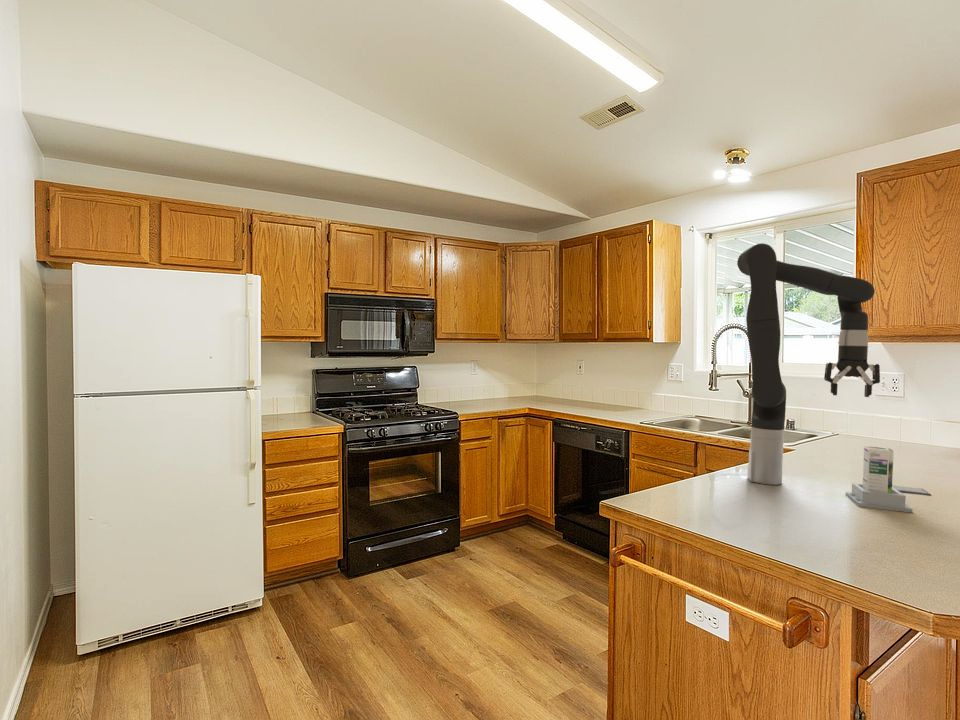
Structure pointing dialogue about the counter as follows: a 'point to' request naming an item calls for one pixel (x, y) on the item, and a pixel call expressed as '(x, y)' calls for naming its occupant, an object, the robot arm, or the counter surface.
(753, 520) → the counter surface
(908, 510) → the grey square socket
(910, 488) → the slab
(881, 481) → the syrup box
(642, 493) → the counter surface
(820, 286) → the robot arm
